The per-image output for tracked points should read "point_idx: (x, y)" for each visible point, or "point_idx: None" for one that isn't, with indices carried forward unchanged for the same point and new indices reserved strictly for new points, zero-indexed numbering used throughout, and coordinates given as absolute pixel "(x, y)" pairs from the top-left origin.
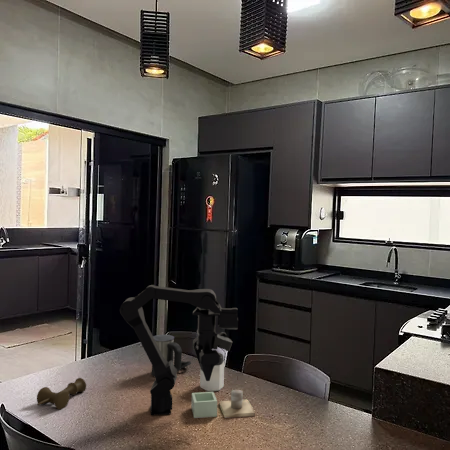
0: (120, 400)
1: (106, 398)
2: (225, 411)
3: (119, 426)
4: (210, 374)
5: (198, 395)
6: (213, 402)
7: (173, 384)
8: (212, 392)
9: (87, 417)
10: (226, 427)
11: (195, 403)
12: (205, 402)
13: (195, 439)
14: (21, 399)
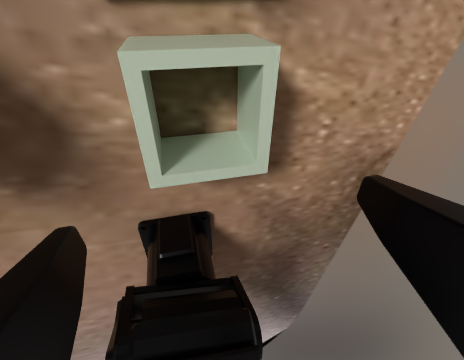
0: (110, 322)
1: (101, 343)
2: None
3: (252, 288)
4: (460, 215)
5: (157, 150)
6: (275, 71)
7: (240, 307)
8: (134, 62)
9: None
10: (360, 2)
11: (265, 165)
12: (271, 120)
13: (377, 136)
14: None
